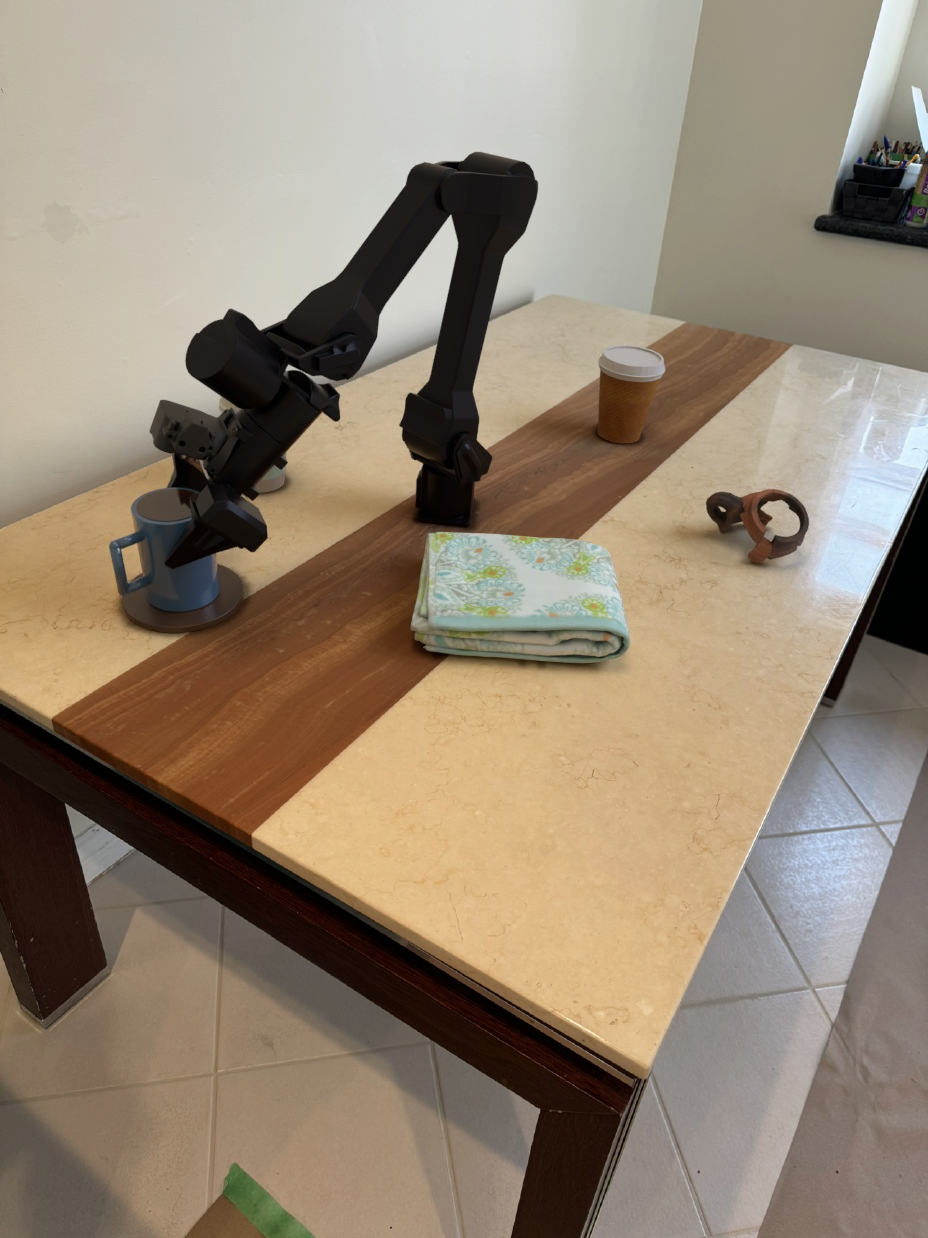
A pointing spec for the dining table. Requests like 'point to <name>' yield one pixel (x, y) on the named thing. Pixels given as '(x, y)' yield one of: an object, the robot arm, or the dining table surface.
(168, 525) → the mug
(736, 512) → the brown double ring bracket
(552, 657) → the towel
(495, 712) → the dining table surface
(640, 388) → the disposable coffee cup
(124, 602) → the coaster
